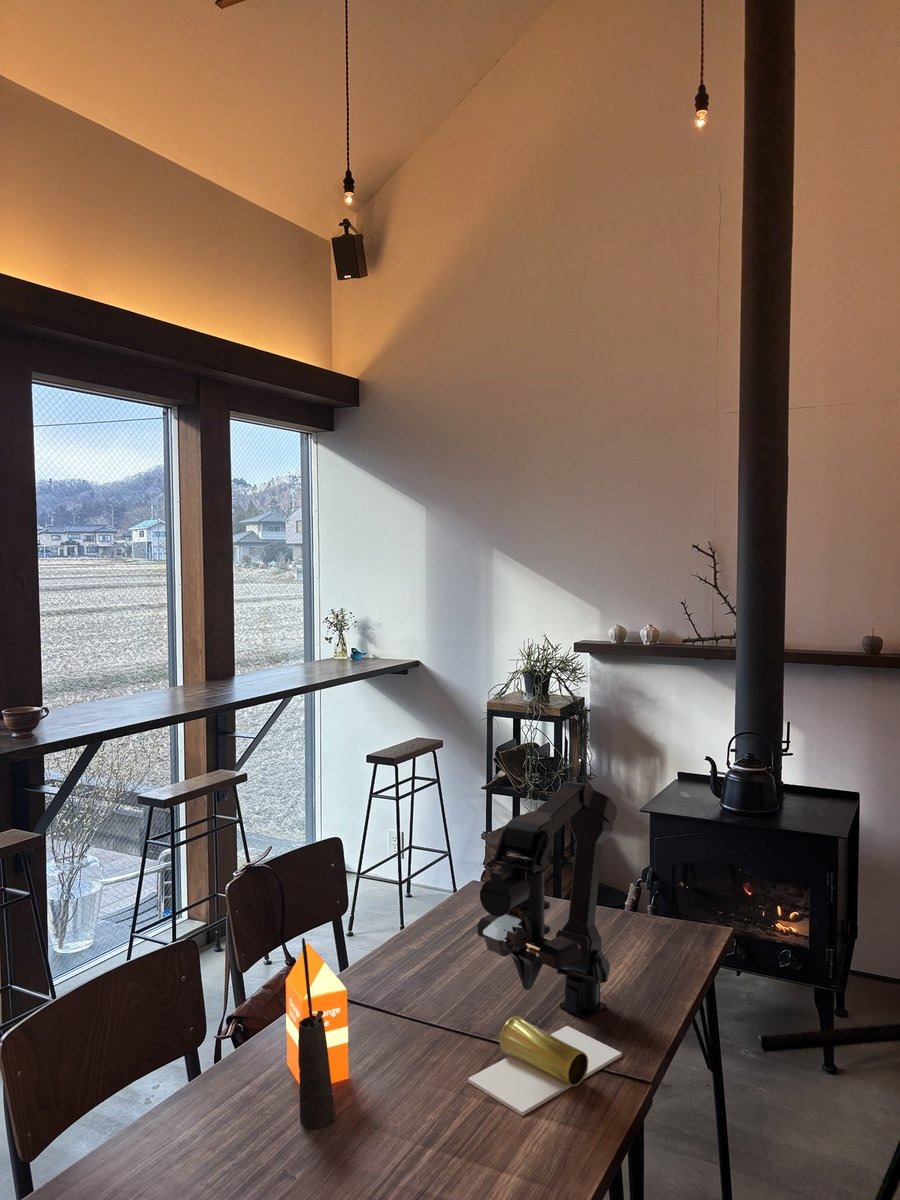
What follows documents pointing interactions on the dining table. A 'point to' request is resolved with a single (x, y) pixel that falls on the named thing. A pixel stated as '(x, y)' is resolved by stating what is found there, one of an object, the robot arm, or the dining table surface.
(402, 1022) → the dining table surface
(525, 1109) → the mat
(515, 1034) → the vase
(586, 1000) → the robot arm
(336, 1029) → the orange juice
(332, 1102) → the butter churn
